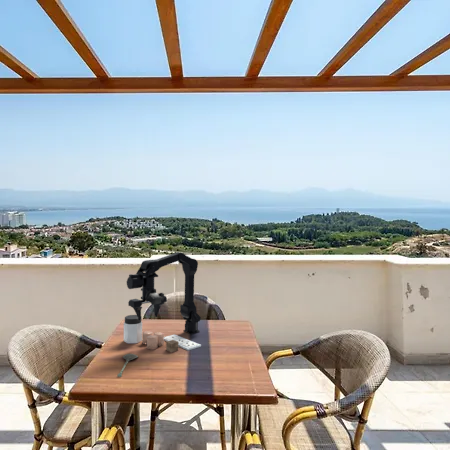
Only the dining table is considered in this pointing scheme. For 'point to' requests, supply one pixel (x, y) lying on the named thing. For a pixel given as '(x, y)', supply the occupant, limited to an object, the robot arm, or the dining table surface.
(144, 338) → the peach rounded piece
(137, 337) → the jar
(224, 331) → the dining table surface
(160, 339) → the peach rounded capsule
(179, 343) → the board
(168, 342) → the brown cube
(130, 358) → the soupspoon
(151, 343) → the peach rounded blob
